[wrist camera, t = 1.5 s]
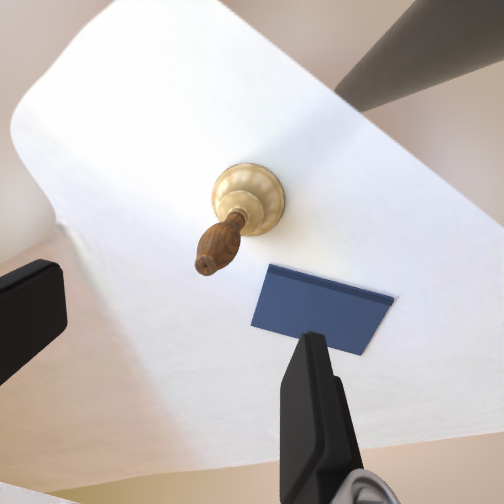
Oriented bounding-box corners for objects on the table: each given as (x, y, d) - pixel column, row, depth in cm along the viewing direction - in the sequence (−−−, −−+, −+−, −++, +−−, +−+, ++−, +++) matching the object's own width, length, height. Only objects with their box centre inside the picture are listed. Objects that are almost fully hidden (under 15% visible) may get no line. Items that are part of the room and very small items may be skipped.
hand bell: (258, 248, 31) (234, 345, 16) (199, 210, 29) (117, 277, 15) (299, 191, 27) (316, 248, 13) (235, 146, 26) (174, 153, 12)
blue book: (269, 263, 31) (269, 265, 31) (393, 297, 31) (394, 299, 31) (250, 324, 35) (250, 326, 35) (360, 354, 35) (361, 356, 35)
